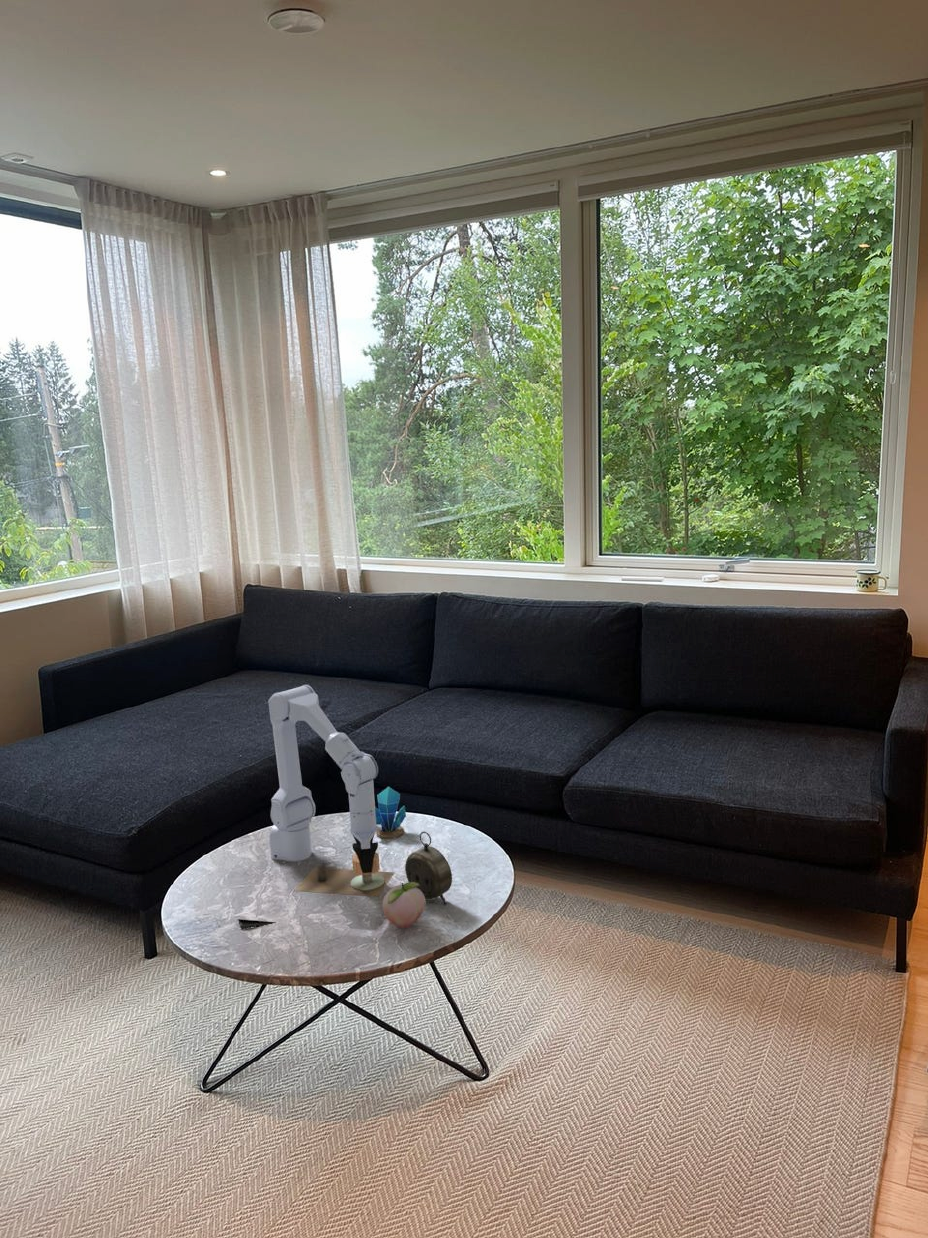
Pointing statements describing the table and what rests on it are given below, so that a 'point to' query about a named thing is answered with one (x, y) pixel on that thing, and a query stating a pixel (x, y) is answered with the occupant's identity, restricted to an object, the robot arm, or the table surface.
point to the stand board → (343, 882)
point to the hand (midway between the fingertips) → (366, 865)
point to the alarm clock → (429, 871)
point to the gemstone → (389, 814)
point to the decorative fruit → (404, 904)
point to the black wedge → (252, 923)
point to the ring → (357, 867)
